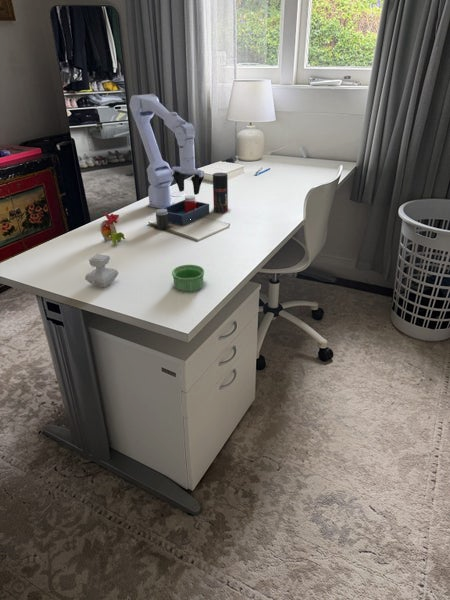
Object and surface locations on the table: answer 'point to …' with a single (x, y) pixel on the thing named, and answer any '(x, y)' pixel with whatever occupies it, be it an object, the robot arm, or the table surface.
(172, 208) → the bin
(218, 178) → the deodorant
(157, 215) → the pepper shaker
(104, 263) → the stamp
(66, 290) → the table surface
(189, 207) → the salt shaker
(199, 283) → the ramekin
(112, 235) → the bird rattle
